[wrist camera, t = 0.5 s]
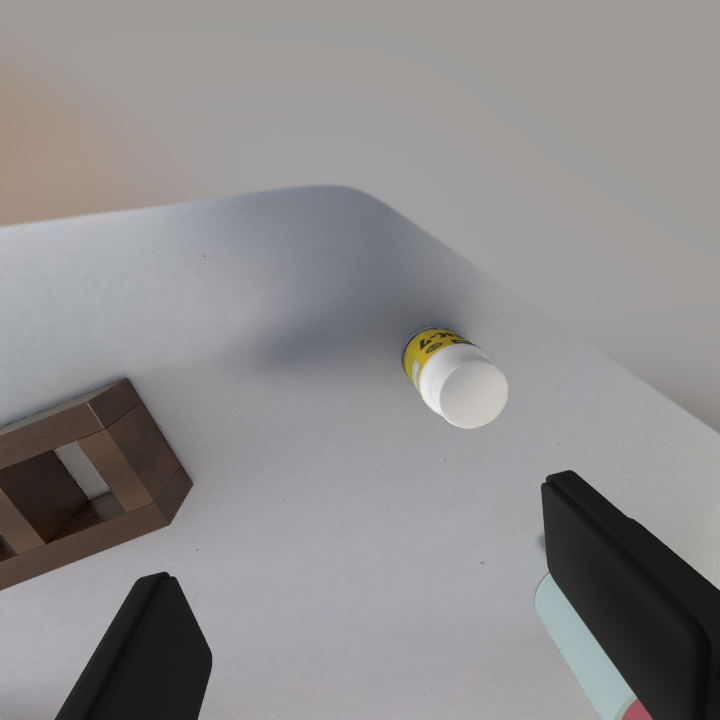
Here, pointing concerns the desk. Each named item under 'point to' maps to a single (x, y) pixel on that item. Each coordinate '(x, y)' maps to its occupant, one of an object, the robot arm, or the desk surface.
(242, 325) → the desk surface
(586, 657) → the mug
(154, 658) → the robot arm
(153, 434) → the holder
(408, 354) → the supplement bottle
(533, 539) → the desk surface
